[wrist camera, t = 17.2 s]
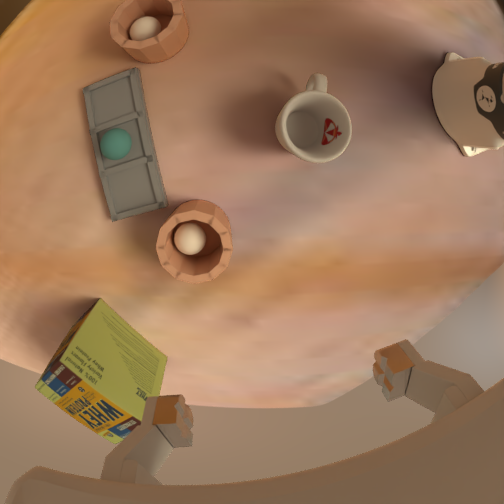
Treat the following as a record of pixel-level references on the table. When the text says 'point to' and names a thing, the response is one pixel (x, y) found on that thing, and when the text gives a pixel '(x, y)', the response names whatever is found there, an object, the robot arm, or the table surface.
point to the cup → (314, 123)
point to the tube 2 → (212, 254)
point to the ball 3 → (190, 238)
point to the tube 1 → (156, 48)
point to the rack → (142, 149)
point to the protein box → (104, 373)
